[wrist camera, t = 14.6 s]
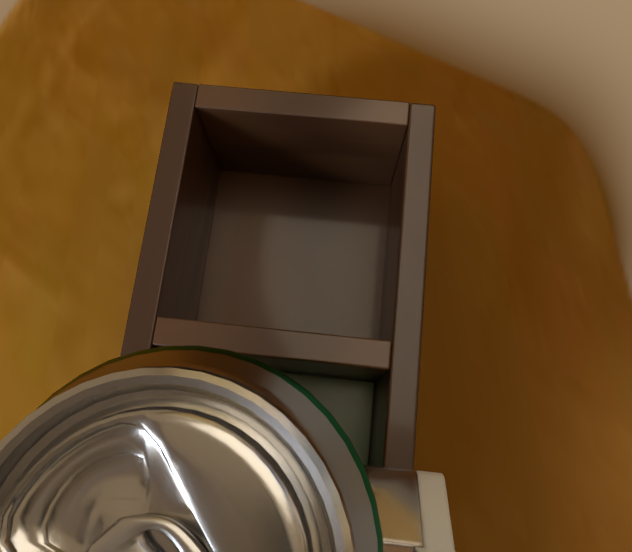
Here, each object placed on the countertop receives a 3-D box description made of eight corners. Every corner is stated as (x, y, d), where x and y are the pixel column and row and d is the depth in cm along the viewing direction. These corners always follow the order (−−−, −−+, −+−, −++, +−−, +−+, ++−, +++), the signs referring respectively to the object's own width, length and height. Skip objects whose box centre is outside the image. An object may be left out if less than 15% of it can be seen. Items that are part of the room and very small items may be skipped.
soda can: (275, 357, 18) (188, 242, 7) (382, 483, 17) (503, 612, 6) (150, 465, 17) (-202, 553, 6) (253, 604, 16) (81, 1049, 5)
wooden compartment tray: (87, 854, 17) (-13, 1036, 12) (206, 156, 22) (173, 81, 17) (360, 893, 16) (375, 1099, 11) (411, 175, 22) (436, 104, 17)
